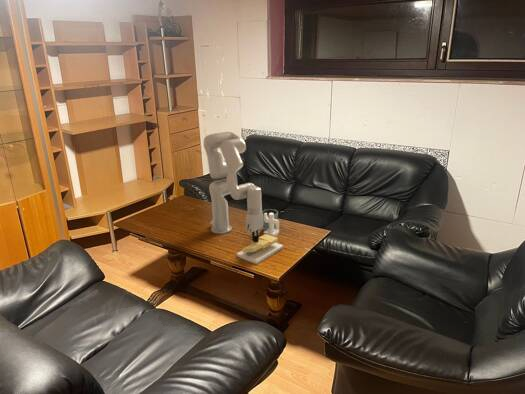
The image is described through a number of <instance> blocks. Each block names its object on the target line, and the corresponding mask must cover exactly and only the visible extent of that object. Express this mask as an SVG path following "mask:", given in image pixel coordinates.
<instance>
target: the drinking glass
mask: <svg viewBox="0 0 525 394" xmlns="http://www.w3.org/2000/svg"><path fill="white" fill-rule="evenodd" d="M262 213H263V222H264V224H263V227H262V230H263V232H265V231H266V230H267V229H268V228H269V223H267V222H265V221H264V213H267V217H268V218H269V213H274V219H276V220H279V219H278V218H279V217H278V216H279V211H278V210H276V209H272V208H268V209H264V210H263V209H262ZM274 229H276V224H274Z"/></svg>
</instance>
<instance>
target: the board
mask: <svg viewBox="0 0 525 394" xmlns="http://www.w3.org/2000/svg"><path fill="white" fill-rule="evenodd" d="M284 246H285V245H284V244H281V243H278V242H276V243H274V244H272V245H269V246H267V247H265V248H260V249H258V250H257V251H255V252H245V253H243V252H242V250H241V251H239V252H236V257H238V258H240V259H243V260H246V261H248V262H250V263H253V264H255V265H258V264H260V263H262V262H263V261H264V260H266V259H268V258H269V257H271V256H272V255H274V254H276V253H278V252H279V251H281V250H282V249H284V248H285V247H284Z"/></svg>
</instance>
